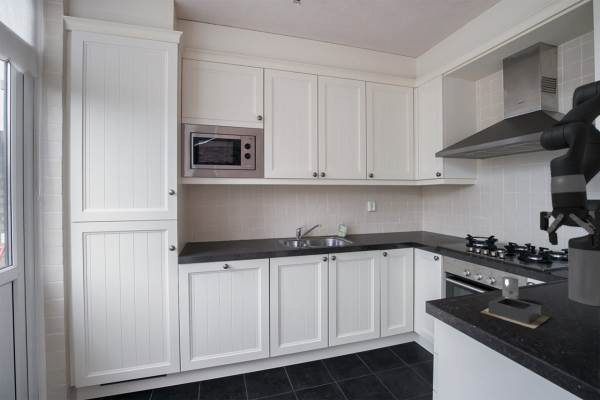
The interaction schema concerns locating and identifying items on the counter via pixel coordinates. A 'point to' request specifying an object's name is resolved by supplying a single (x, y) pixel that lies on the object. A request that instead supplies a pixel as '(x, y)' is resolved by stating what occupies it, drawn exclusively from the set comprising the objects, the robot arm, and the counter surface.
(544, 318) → the board
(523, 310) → the sleeve
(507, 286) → the cylinder
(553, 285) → the counter surface
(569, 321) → the counter surface
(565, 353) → the counter surface
